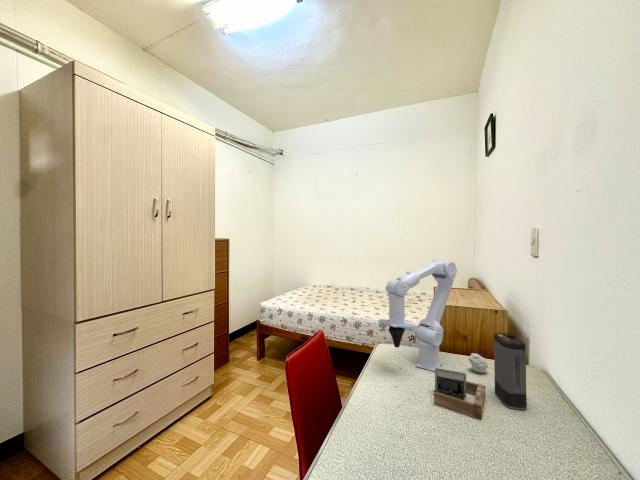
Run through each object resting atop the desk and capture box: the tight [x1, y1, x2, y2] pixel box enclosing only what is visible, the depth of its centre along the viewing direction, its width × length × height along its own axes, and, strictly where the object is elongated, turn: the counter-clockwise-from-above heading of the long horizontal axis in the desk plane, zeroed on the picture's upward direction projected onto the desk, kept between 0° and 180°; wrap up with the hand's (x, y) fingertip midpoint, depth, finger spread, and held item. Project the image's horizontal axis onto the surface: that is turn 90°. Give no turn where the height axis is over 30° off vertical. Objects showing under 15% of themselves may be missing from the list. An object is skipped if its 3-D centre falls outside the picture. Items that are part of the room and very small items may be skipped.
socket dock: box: [433, 380, 486, 421], centre depth 83 cm, size 14×12×6 cm
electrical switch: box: [434, 366, 467, 401], centre depth 85 cm, size 9×5×9 cm, turn 65°
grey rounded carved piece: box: [467, 352, 489, 374], centre depth 101 cm, size 6×7×7 cm
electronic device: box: [493, 332, 528, 411], centre depth 83 cm, size 9×6×20 cm, turn 168°
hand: (397, 346), depth 100 cm, fingers closed
